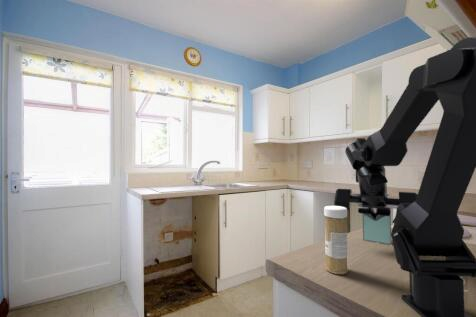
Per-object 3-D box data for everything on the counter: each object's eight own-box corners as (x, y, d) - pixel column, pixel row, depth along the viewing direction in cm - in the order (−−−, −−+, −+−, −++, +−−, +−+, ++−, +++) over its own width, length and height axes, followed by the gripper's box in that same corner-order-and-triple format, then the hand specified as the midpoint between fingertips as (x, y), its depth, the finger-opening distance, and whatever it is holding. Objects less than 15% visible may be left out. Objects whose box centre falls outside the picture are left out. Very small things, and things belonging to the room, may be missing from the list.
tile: (391, 244, 64) (390, 214, 64) (363, 240, 68) (362, 211, 68) (391, 242, 66) (390, 212, 67) (363, 238, 70) (363, 209, 70)
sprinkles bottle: (324, 264, 52) (323, 204, 52) (346, 267, 51) (345, 205, 51) (326, 274, 48) (324, 208, 48) (350, 276, 46) (349, 209, 47)
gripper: (417, 159, 56) (414, 199, 65) (335, 160, 66) (343, 194, 75) (421, 196, 49) (418, 234, 58) (329, 191, 60) (338, 224, 69)
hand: (375, 219), depth 65 cm, fingers closed
